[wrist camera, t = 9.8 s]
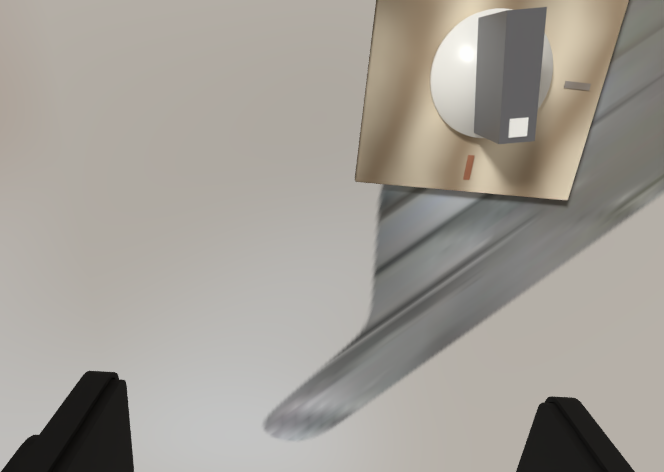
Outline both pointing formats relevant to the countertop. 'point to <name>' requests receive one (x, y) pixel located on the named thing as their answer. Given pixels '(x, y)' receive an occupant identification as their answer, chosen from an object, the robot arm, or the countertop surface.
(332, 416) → the countertop surface
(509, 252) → the countertop surface
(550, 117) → the dial plate
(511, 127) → the dial knob
